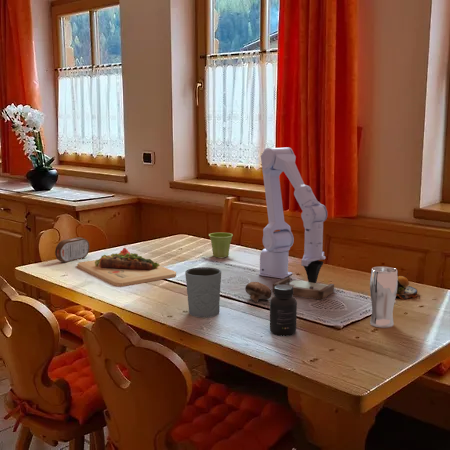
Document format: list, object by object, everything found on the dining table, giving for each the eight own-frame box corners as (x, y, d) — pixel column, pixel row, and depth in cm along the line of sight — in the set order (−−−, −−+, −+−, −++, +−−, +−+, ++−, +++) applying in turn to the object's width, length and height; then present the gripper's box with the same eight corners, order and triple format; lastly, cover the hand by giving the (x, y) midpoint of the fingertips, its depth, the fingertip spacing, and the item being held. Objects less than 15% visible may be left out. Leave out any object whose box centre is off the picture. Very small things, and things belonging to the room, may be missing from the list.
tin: (85, 256, 240) (85, 235, 239) (91, 257, 238) (90, 236, 237) (55, 263, 228) (54, 241, 227) (60, 264, 226) (59, 242, 225)
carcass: (272, 292, 191) (272, 282, 191) (286, 284, 200) (286, 275, 199) (321, 300, 183) (322, 290, 182) (333, 291, 192) (334, 282, 191)
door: (285, 290, 194) (285, 283, 193) (294, 285, 200) (294, 279, 199) (320, 296, 188) (320, 289, 188) (328, 291, 194) (328, 284, 193)
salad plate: (390, 287, 198) (392, 264, 197) (424, 294, 190) (425, 271, 189) (370, 294, 190) (371, 271, 189) (404, 302, 182) (406, 278, 180)
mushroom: (249, 296, 176) (255, 276, 178) (237, 299, 183) (243, 280, 185) (272, 306, 178) (278, 287, 180) (259, 309, 185) (265, 290, 187)
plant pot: (232, 259, 236) (232, 237, 234) (208, 258, 236) (208, 236, 234) (232, 253, 245) (232, 232, 243) (209, 253, 245) (209, 232, 244)
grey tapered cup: (208, 320, 164) (208, 277, 162) (178, 314, 169) (177, 272, 167) (228, 310, 173) (228, 269, 170) (198, 304, 178) (198, 265, 176)
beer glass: (396, 329, 157) (399, 273, 155) (368, 327, 159) (371, 271, 156) (394, 320, 164) (397, 266, 162) (367, 319, 166) (370, 265, 163)
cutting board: (75, 267, 224) (74, 247, 223) (131, 259, 238) (131, 240, 237) (118, 288, 196) (117, 266, 195) (179, 277, 210) (179, 256, 209)
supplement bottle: (267, 327, 158) (268, 283, 156) (293, 327, 159) (294, 282, 157) (271, 337, 152) (272, 290, 150) (298, 336, 152) (299, 290, 150)
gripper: (316, 247, 187) (315, 290, 189) (333, 239, 199) (332, 279, 201) (295, 245, 190) (294, 287, 193) (313, 237, 203) (312, 277, 205)
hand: (312, 283), depth 197 cm, fingers closed
